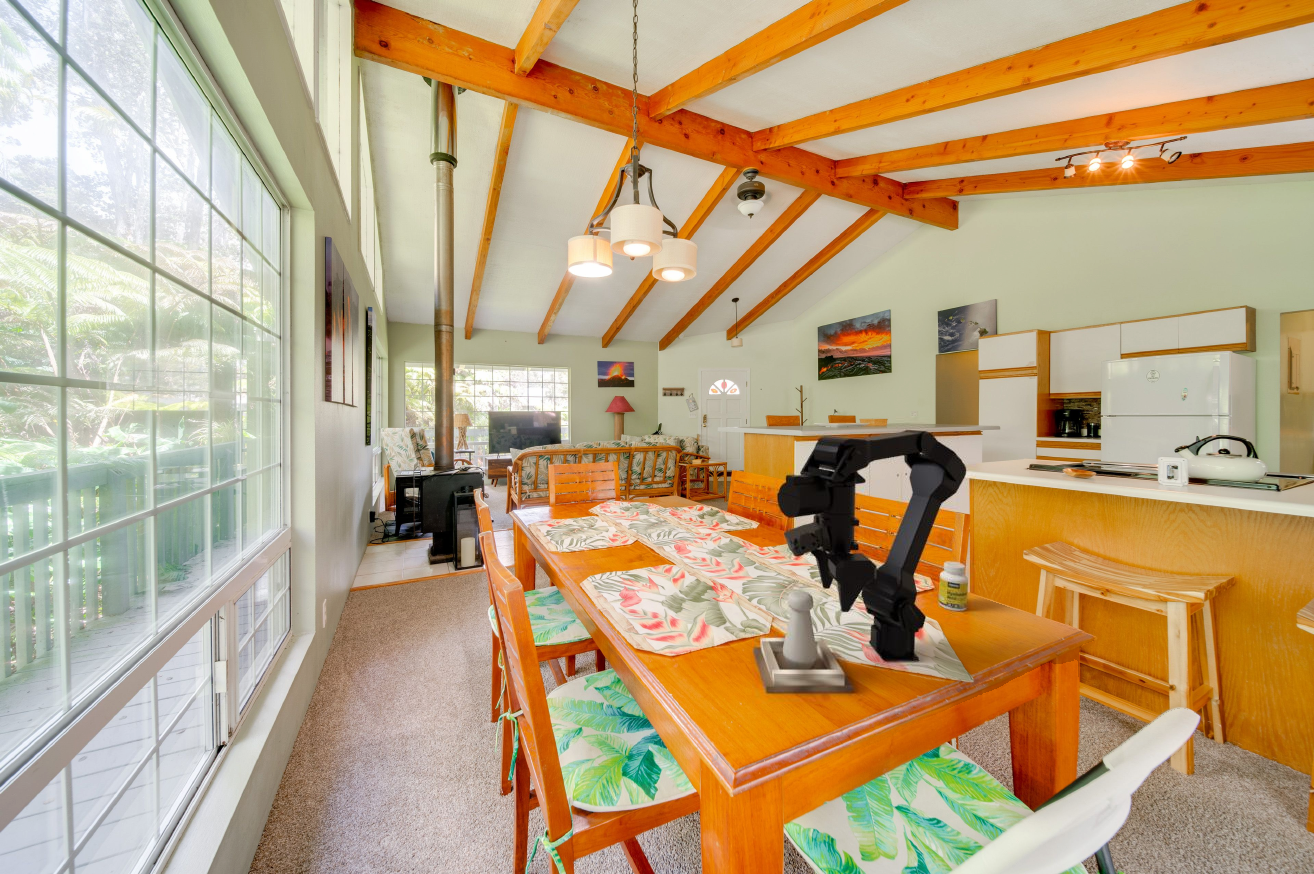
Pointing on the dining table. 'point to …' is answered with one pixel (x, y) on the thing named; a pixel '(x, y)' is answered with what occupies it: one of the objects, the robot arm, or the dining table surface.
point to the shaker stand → (787, 680)
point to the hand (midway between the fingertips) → (835, 599)
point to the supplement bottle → (953, 587)
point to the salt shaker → (800, 633)
